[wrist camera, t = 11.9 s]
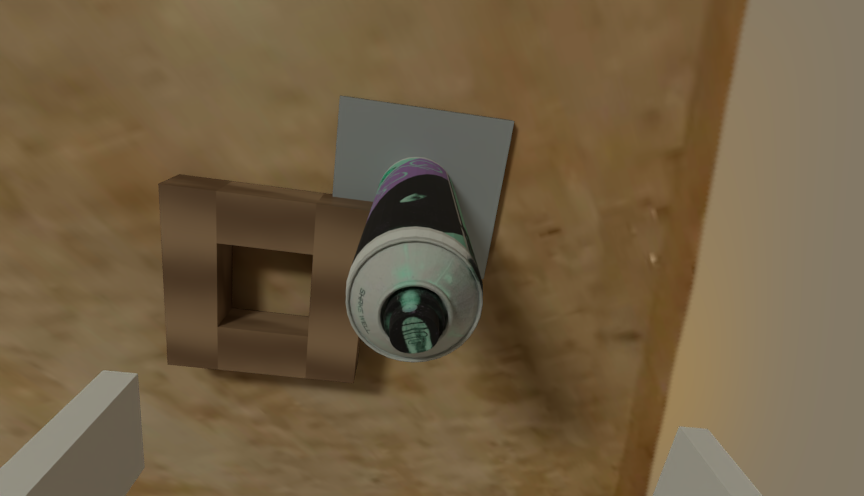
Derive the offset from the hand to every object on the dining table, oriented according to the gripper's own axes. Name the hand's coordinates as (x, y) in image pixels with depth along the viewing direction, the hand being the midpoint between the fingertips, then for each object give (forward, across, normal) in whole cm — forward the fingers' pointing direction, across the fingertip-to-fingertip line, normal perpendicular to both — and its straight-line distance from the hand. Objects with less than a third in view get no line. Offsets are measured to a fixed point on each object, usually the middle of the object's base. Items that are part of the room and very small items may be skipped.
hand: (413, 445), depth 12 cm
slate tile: (+25, 0, 0) cm, 25 cm away
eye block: (+26, -10, -8) cm, 28 cm away
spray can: (+25, 0, 0) cm, 25 cm away
